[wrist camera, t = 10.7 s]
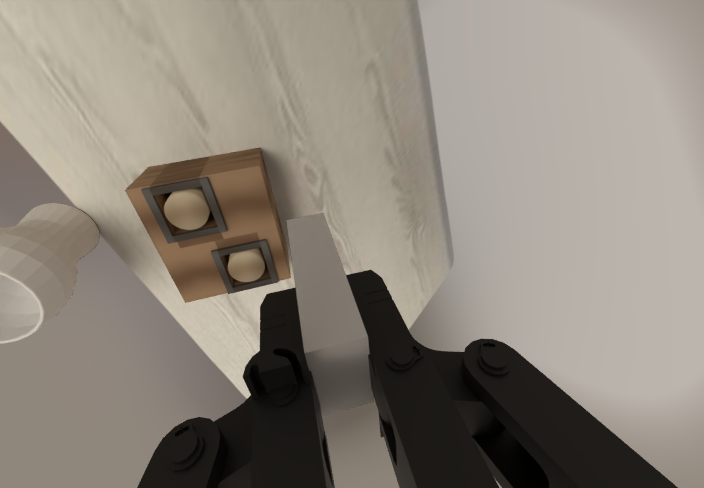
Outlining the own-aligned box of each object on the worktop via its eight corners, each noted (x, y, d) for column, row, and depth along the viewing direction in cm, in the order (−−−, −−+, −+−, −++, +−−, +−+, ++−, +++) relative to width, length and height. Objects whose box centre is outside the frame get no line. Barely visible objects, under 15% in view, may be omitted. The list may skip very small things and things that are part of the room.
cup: (21, 176, 37) (-101, 238, 25) (123, 215, 42) (64, 283, 30) (2, 245, 40) (-115, 331, 28) (99, 274, 45) (36, 358, 33)
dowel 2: (228, 227, 46) (222, 257, 39) (260, 221, 46) (259, 249, 40) (238, 253, 48) (234, 285, 42) (267, 246, 49) (268, 277, 42)
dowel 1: (174, 173, 41) (156, 197, 34) (210, 167, 41) (200, 189, 34) (188, 205, 43) (174, 233, 36) (221, 198, 44) (214, 225, 37)
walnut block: (148, 167, 40) (123, 191, 33) (260, 147, 42) (259, 166, 35) (196, 268, 48) (184, 305, 41) (287, 248, 50) (291, 280, 43)
